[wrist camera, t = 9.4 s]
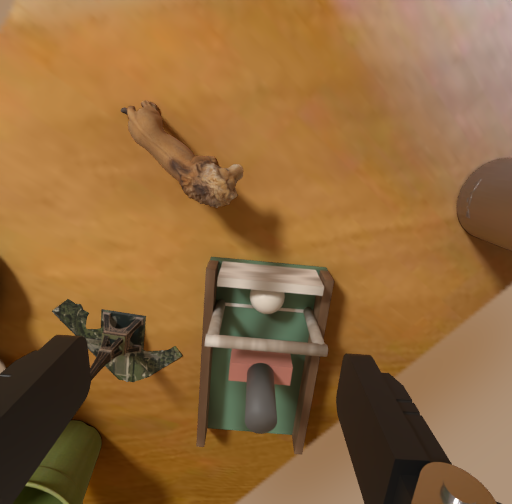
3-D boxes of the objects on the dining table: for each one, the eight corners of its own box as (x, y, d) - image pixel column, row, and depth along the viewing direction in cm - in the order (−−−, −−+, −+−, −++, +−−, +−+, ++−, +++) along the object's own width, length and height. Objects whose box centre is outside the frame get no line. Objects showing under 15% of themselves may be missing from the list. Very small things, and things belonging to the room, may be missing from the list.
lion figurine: (252, 169, 35) (251, 175, 27) (227, 209, 37) (218, 226, 28) (134, 88, 33) (91, 65, 24) (111, 133, 34) (63, 127, 26)
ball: (288, 279, 35) (285, 316, 34) (283, 281, 39) (281, 314, 38) (251, 275, 35) (248, 312, 34) (250, 278, 39) (247, 311, 38)
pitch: (326, 267, 39) (348, 304, 29) (298, 428, 46) (308, 498, 37) (211, 256, 38) (196, 290, 29) (201, 420, 46) (187, 489, 37)
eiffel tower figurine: (52, 308, 41) (-40, 378, 28) (110, 266, 39) (40, 320, 27) (129, 387, 45) (79, 480, 32) (186, 352, 43) (156, 436, 30)
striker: (288, 340, 40) (300, 410, 29) (285, 360, 41) (296, 436, 30) (233, 335, 40) (224, 404, 29) (231, 355, 41) (222, 430, 30)
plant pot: (135, 446, 47) (99, 532, 37) (76, 478, 49) (25, 569, 39) (80, 391, 45) (24, 468, 34) (20, 428, 46) (-52, 511, 36)
